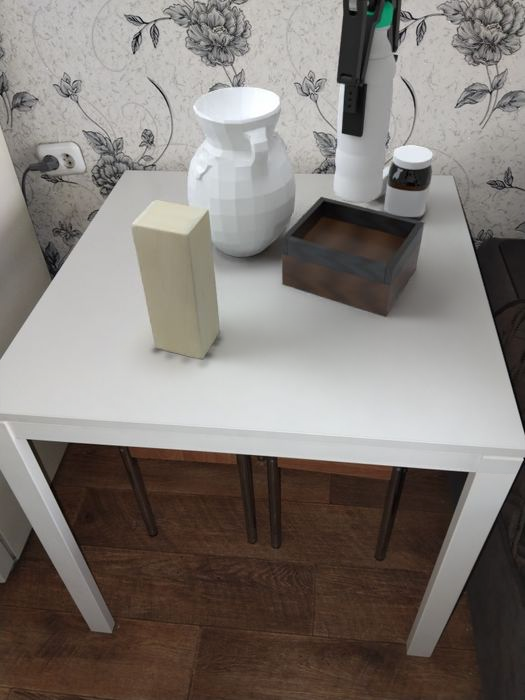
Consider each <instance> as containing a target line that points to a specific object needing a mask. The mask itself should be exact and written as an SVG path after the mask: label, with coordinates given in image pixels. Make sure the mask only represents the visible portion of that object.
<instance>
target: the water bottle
mask: <svg viewBox="0 0 525 700" xmlns="http://www.w3.org/2000/svg"><path fill="white" fill-rule="evenodd" d="M374 13H375V12H367V15H373V14H374ZM392 17H393V6H392V4H391V3H390V2H388V1H386V2H384V7H383V12H382V17H381V21H380V23H378V24H377V25H376V26H375V31H374V36H373V41H372V46H371V51H370V56H369V61H368V66H367V71H366V76H365V81H364V83H365V84H367V93H366V105H365V116H364V127H363V135H362V136H361V137H356V136H351V135H346V134H342V118H343V102H344V86H345V84H340V85H339V93H338V102H337V104H338V105H337V120H336V121H337V122H336V124H337V125H336V131H337V132H336V134H337V135H336V140H337V142H336V143H337V146H336V149H335V157H334V163H335V164H334V165H335V171H334V176H333V192H334V194H335V196H336V197H338V198H339V199H340V200H342V201H343V202H346V203H350V204H366V203H370V202H373V201H375V200H374V199H376V198H377V197H378V196H379V195H380V194H381V191H382V185H383V169H384V168H385V165H386V164H385V163H386V158H387V157H386V156H387V153H386V152H387V150H386V144H387V140H388V136H389V130H390V123H391V115H392V105H393V96H394V95H393V94H394V78H395V76H396V73H397V62H395V58H394V55H393V54H394V53H392V51H391V44H390V42H389V40H388V38H387V30H388V29H389V28H390V24H391V22H392ZM376 200H377V199H376Z"/></svg>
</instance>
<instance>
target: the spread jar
mask: <svg viewBox="0 0 525 700" xmlns="http://www.w3.org/2000/svg"><path fill="white" fill-rule="evenodd" d="M433 157H434V154H433V152H432V151H431V150H430V149H429V148H427V147H424V146H421V145H417V144H416V145H415V144H405V145H401V146H398V147H396V148H395V149H394V150H393V154H392V162H391V164H390V165H387V166H385V167H384V168H383V185H382V191H381V194H380V195H379V196H378V197H377V198H376V199H374V200H373V201H375V200H378V199H379V198H381V197H382V196H383V195H384V194H385V196H384V203H383V204H384V206H383V212H385V213H389V214H393V215H397V216H401V217H405V218H409V219H413V220H417V221H418V220H419V219H421V218H422V217H424V214H425V212H426V209H427V203H428V198H429V193H430V188H431V181H432V175H433V165H432V162H433Z"/></svg>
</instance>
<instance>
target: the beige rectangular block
mask: <svg viewBox="0 0 525 700" xmlns="http://www.w3.org/2000/svg"><path fill="white" fill-rule="evenodd" d="M130 227H131V234H132V238H133V244H134V249H135V254H136V259H137V263H138V268H139V273H140V274H139V275H140V278H141V284H142V289H143V294H144V298H145V303H146V304H145V305H146V308H147V313H148V318H149V324H150V328H151V329H150V330H151V334H152V338H153V343H154V344H153V345H154V347H155V348H156V349H159V350H161V351H166V352H169V353H174V354H178V355H182V356H186V357H191V358H194V359H199V360H203V359H204V358H205V357H206V355H207V354H208V352H209V350H210V349H211V347H212V345H214V342H215V341H216V339H217V337H218V335H219V334H220V332H221V329H220V315H219V303H218V295H217V285H216V274H215V273H216V272H215V264H214V251H213V244H212V239H211V228H210V218H209V210H208V209H205V208H200V207H194V206H189V204H188V205H187V204H183V203H177V202H170V201H165V200H159V199H154V200H152V202H151V203H150V204H149V205H148V206H147V207H146V208H145V209H144V210H143V211H142V212H141V213H140V214H139V215H138V216H137V217H136V218H135V219H134V221H133V222H132V223H131V225H130Z"/></svg>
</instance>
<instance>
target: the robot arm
mask: <svg viewBox="0 0 525 700" xmlns="http://www.w3.org/2000/svg"><path fill="white" fill-rule="evenodd" d="M386 1H388V2H390V3H391V4H392V6H393V17H392V22H391V24H390V28H389V29H388V30H387V38H388V40H389V42H390V44H391V51H392V53H393V55H394V58H395V62H396V63H397V62H398V59H399V54H397V52H398V50H399V39H400V27H401V16H402V15H401V13H402V4H403V3H402V2H403V0H342V21H341V32H340V43H339V52H338V62H337V73H336V84H338V85H339V84H345V86H344V102H343V118H342V134H346V135H351V136H356V137H361V136H362V135H363V127H364V116H365V105H366V93H367V84H365V83H364V81H365V76H366V71H367V66H368V61H369V56H370V51H371V46H372V41H373V36H374V31H375V26H376V25H377V24H378V23H380V21H381V17H382V12H383V7H384V2H386ZM367 12H375V13H374V14H373V15H367Z"/></svg>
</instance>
